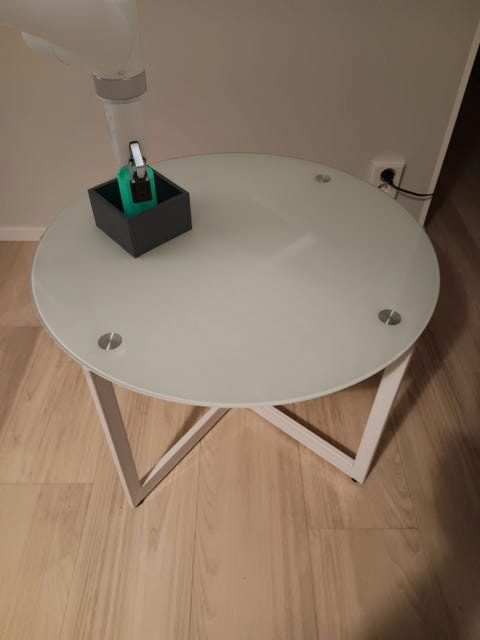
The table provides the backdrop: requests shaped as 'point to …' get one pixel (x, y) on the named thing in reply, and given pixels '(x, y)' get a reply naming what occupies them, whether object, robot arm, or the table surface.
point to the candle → (126, 195)
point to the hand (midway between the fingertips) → (136, 185)
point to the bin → (142, 215)
